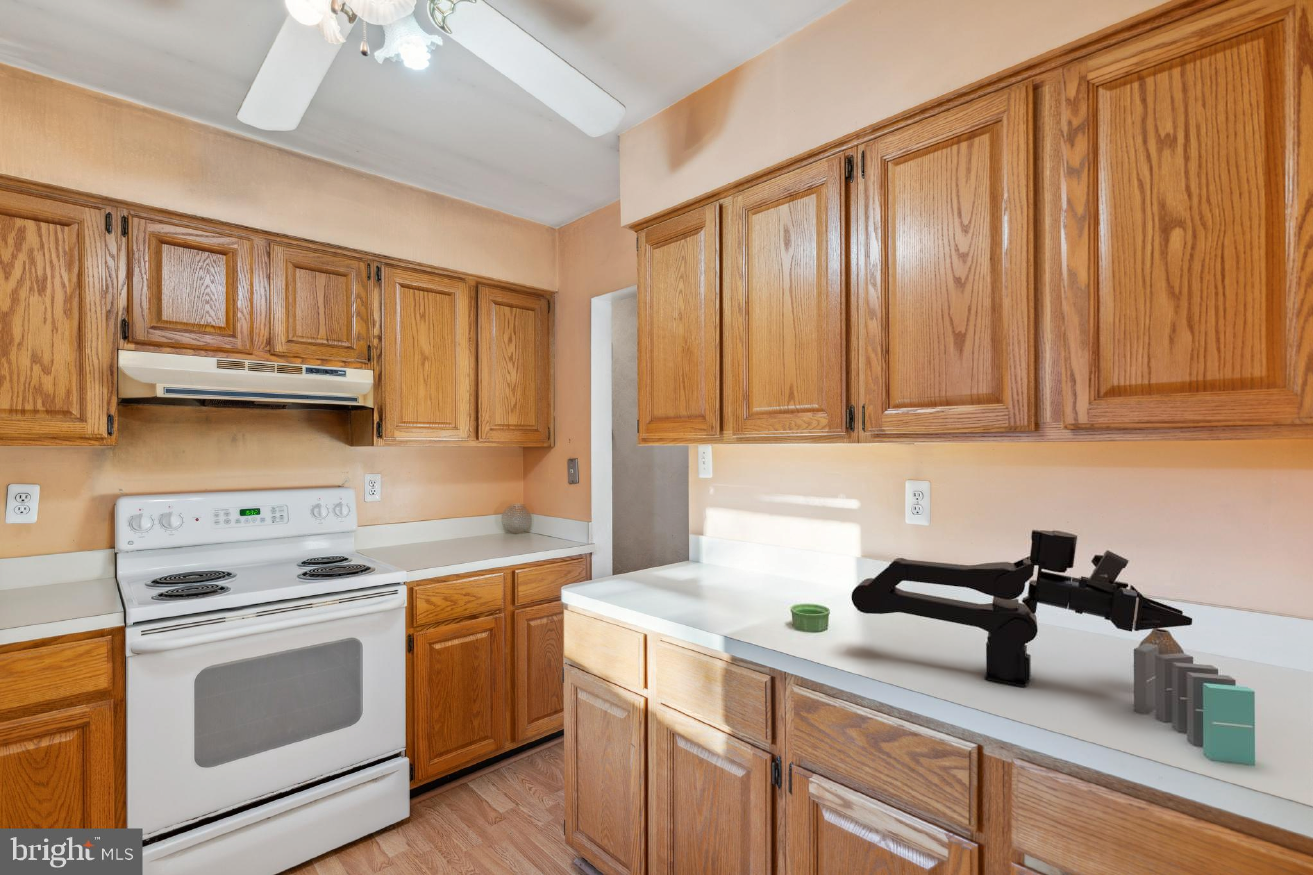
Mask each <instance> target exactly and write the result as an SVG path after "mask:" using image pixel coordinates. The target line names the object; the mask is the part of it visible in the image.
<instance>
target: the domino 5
mask: <svg viewBox="0 0 1313 875" xmlns="http://www.w3.org/2000/svg"><path fill="white" fill-rule="evenodd" d="M1255 692H1256V691H1254V690H1252V689H1251V688H1249V687H1248V686H1241V685H1236V686H1231V685H1219V684H1208V683H1203V747H1202V750H1203V751H1202V754H1203V755H1204V756H1205V757H1206V758H1207V759H1209V761H1215V762H1224V763H1231V764H1232V763H1233V764H1240V763H1241V765H1250V766H1255V765H1256V735H1255V734H1256V725H1255V724H1256V721H1255V720H1256V713H1255V712H1256V711H1255V710H1256V708H1255V707H1256V706H1255V705H1256V704H1255V702H1256V694H1255Z"/></svg>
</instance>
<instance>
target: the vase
mask: <svg viewBox="0 0 1313 875" xmlns="http://www.w3.org/2000/svg"><path fill="white" fill-rule="evenodd" d="M1146 643H1148V644H1153V645H1157V646H1158V651H1159V655H1162V654H1178V653H1184V654H1185V652H1184V649H1183V648H1182V646H1181V645H1180V644H1179V642H1178V641H1177V640H1176V639H1175V638H1174V637H1173V636H1172V634H1171V631H1169V630H1168V629H1167V630H1166V629H1163V628H1156V629H1151V632H1150V633H1149V634H1148V635H1146V637H1144V638H1143V639H1142V640H1141V642H1140V643H1139V645H1138V647H1139V646H1141V645H1144V644H1146Z"/></svg>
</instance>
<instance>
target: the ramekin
mask: <svg viewBox="0 0 1313 875" xmlns="http://www.w3.org/2000/svg"><path fill="white" fill-rule="evenodd" d="M790 613H791V621H792V626H793V628H794V629H796V630H798V631H800V632H801V631H802V632H807V633H821V632H824V631H826V630H828V628H829V620H830V619H829V618H830V614H831V610H830V608H829V607H827V606H825V605H821V604H816V603H798V604H794V605H792V606H791V607H790Z"/></svg>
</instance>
